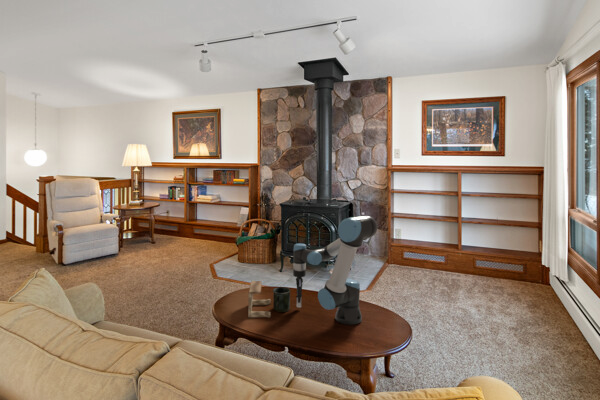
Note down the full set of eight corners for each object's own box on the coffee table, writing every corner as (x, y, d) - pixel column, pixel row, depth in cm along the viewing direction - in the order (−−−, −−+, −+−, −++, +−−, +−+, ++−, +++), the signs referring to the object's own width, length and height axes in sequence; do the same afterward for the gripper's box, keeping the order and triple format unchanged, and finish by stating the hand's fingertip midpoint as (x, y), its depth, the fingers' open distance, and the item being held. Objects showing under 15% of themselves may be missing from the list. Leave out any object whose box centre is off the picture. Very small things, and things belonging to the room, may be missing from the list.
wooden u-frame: (270, 303, 228) (270, 280, 226) (270, 317, 206) (270, 292, 205) (250, 303, 227) (250, 280, 225) (248, 318, 205) (248, 292, 204)
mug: (292, 306, 223) (292, 287, 222) (286, 315, 209) (286, 296, 208) (275, 304, 226) (275, 286, 225) (268, 313, 212) (268, 294, 211)
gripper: (292, 266, 222) (292, 302, 225) (293, 272, 209) (293, 311, 212) (304, 266, 223) (304, 302, 225) (306, 272, 210) (305, 311, 212)
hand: (298, 306), depth 218 cm, fingers closed
